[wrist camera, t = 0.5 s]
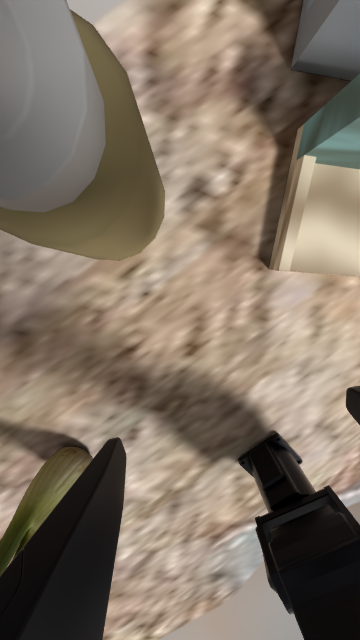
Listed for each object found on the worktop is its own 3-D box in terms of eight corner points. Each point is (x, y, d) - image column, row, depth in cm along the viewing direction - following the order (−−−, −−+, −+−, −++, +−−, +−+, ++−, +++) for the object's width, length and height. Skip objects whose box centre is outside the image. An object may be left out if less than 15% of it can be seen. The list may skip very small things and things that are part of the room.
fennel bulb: (47, 444, 24) (-53, 610, 13) (87, 433, 24) (22, 590, 13) (68, 477, 26) (-4, 648, 15) (105, 467, 26) (62, 630, 15)
